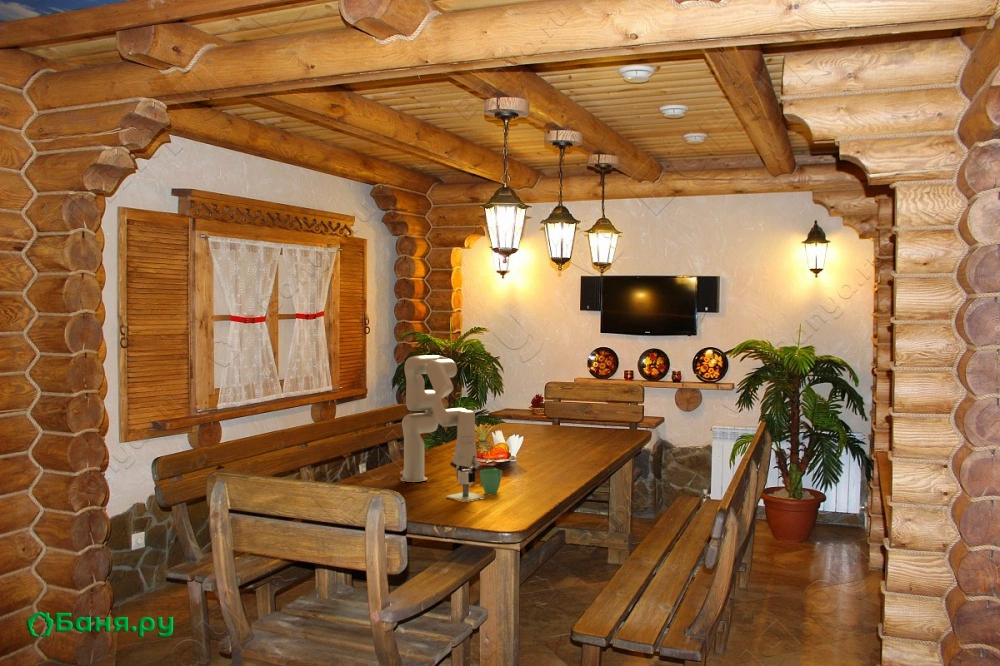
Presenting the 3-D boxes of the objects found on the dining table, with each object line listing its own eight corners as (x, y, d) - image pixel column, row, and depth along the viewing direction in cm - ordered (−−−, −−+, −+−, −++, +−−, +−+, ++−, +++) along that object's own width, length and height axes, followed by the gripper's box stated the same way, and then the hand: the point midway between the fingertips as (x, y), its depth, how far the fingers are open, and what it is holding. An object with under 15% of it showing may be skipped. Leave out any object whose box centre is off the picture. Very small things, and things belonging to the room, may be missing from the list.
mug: (499, 496, 357) (499, 474, 357) (477, 495, 359) (477, 472, 359) (506, 489, 371) (506, 467, 371) (484, 488, 373) (484, 466, 373)
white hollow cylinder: (454, 482, 353) (454, 470, 353) (466, 480, 358) (466, 468, 358) (465, 484, 349) (465, 473, 348) (477, 482, 353) (477, 470, 353)
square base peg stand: (445, 498, 354) (445, 482, 353) (466, 493, 362) (466, 477, 362) (464, 503, 345) (465, 486, 345) (485, 498, 354) (485, 482, 354)
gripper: (446, 437, 356) (445, 478, 357) (473, 442, 344) (473, 485, 345) (458, 436, 362) (458, 476, 362) (486, 440, 349) (486, 482, 350)
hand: (465, 480), depth 353 cm, fingers closed on white hollow cylinder, 6 cm apart
